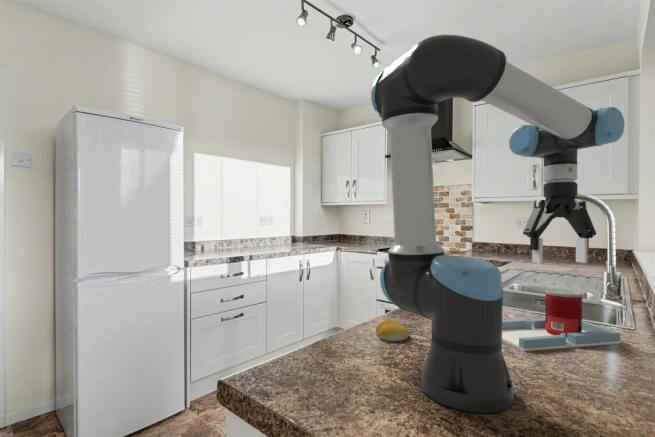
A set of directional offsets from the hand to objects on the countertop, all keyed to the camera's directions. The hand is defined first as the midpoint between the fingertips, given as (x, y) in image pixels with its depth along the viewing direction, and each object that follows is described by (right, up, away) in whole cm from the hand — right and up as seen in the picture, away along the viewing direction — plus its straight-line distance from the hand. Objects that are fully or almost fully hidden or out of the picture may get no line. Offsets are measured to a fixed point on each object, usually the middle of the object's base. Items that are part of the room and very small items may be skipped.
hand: (559, 262), depth 92 cm
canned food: (+1, -19, 0) cm, 19 cm away
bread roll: (-44, -20, 0) cm, 49 cm away
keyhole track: (-4, -19, -1) cm, 20 cm away
